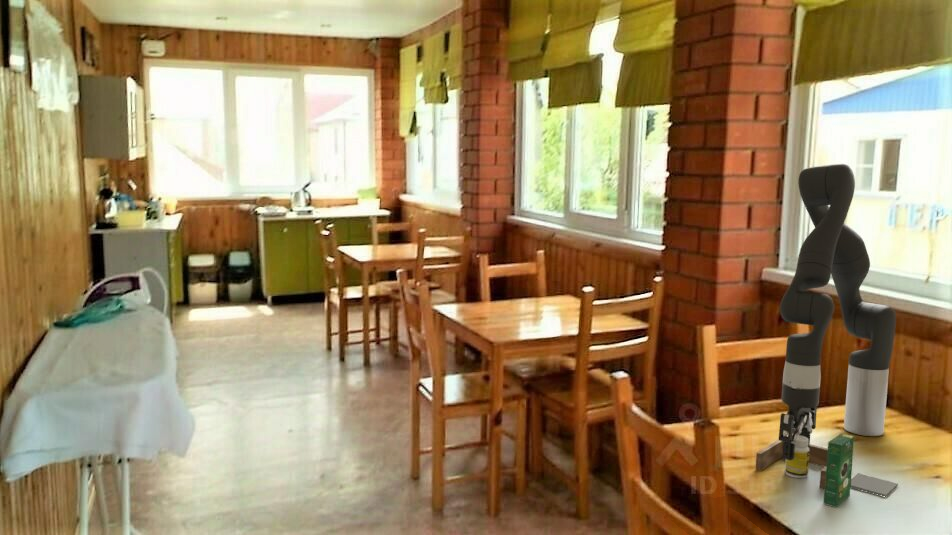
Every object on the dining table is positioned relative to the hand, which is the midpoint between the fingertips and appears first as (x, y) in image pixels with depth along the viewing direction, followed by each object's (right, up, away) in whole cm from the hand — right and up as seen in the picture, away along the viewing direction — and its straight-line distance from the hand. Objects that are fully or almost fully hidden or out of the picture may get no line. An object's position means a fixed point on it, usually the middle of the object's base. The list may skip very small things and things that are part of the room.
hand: (795, 454), depth 171 cm
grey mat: (+14, -6, -5) cm, 16 cm away
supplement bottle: (0, -5, +1) cm, 5 cm away
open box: (+2, -4, +3) cm, 6 cm away
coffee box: (+3, -7, -12) cm, 14 cm away
